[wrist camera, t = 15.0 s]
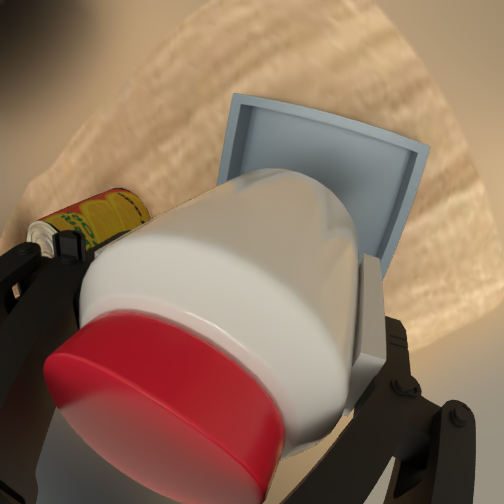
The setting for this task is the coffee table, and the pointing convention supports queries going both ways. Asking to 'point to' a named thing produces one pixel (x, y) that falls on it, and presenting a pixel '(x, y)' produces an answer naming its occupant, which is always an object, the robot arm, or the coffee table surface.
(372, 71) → the coffee table surface
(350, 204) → the blue-grey tray
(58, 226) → the beverage can
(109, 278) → the pill bottle
